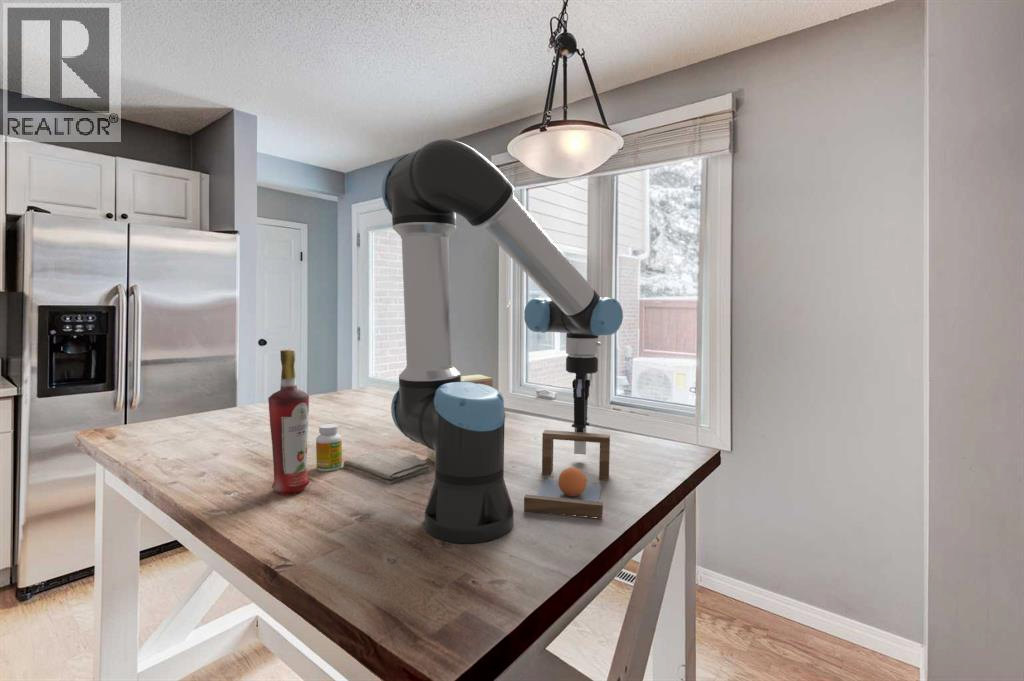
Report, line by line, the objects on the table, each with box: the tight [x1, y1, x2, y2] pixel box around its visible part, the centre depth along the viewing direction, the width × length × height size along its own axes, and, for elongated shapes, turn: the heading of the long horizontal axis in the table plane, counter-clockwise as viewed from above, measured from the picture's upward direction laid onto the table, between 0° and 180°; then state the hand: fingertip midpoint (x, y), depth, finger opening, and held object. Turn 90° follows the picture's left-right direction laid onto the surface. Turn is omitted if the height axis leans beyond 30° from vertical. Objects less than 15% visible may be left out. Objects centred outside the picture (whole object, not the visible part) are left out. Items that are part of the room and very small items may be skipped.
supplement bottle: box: [315, 423, 343, 472], centre depth 112 cm, size 5×5×10 cm
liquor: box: [267, 349, 310, 496], centre depth 97 cm, size 7×7×28 cm
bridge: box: [541, 429, 611, 480], centre depth 109 cm, size 3×14×9 cm, turn 76°
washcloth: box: [342, 447, 431, 485], centre depth 112 cm, size 12×18×3 cm, turn 53°
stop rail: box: [523, 493, 604, 519], centre depth 89 cm, size 2×14×2 cm, turn 77°
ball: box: [557, 467, 587, 497], centre depth 97 cm, size 6×6×6 cm
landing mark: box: [536, 479, 603, 502], centre depth 98 cm, size 12×12×1 cm
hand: (580, 453), depth 119 cm, fingers closed
